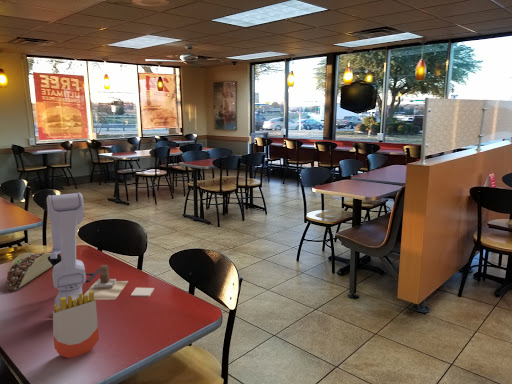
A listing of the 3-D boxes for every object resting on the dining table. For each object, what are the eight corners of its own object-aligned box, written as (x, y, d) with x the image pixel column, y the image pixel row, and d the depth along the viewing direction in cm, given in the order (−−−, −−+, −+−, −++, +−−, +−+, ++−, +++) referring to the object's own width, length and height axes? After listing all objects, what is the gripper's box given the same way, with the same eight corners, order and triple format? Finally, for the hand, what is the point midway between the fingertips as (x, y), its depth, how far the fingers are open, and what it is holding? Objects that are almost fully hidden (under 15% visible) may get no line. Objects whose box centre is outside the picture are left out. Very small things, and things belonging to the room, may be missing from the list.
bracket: (70, 270, 174) (70, 264, 173) (104, 270, 173) (103, 264, 173) (53, 284, 159) (52, 277, 159) (90, 284, 159) (89, 278, 159)
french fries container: (55, 355, 112) (48, 296, 108) (93, 340, 119) (89, 284, 115) (59, 362, 108) (53, 302, 105) (99, 347, 116) (94, 290, 112)
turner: (112, 288, 153) (110, 268, 152) (94, 288, 153) (92, 268, 152) (116, 282, 158) (115, 263, 157) (98, 282, 158) (97, 263, 156)
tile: (149, 295, 146) (154, 287, 152) (130, 294, 147) (136, 287, 153) (149, 298, 147) (154, 291, 153) (131, 298, 147) (136, 291, 153)
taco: (62, 265, 177) (60, 244, 175) (23, 292, 151) (20, 267, 149) (41, 264, 178) (39, 243, 176) (-1, 291, 152) (-4, 266, 150)
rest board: (115, 300, 144) (115, 299, 144) (79, 300, 144) (79, 299, 144) (128, 282, 160) (128, 281, 160) (96, 282, 160) (96, 281, 159)
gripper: (63, 241, 138) (66, 277, 141) (79, 229, 152) (82, 262, 155) (42, 241, 138) (46, 278, 141) (60, 229, 152) (64, 262, 155)
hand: (64, 270), depth 148 cm, fingers open, 7 cm apart
